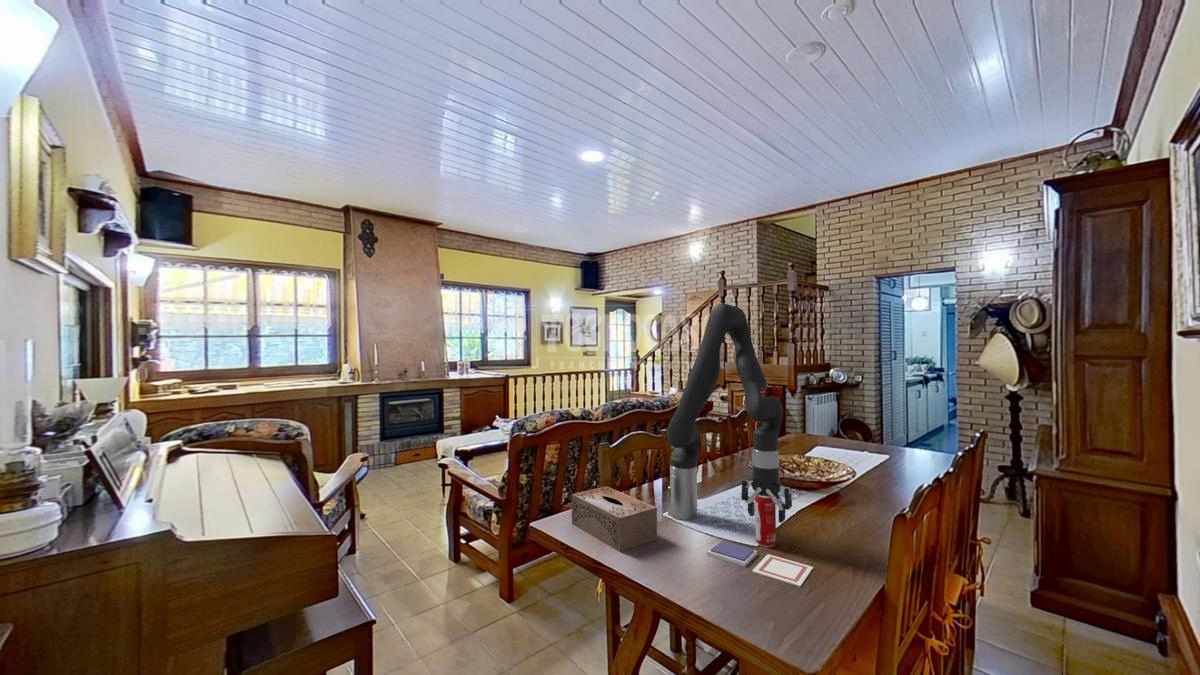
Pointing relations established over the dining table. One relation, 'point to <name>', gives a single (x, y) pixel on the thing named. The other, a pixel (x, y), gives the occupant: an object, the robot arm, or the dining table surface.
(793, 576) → the marked card
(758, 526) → the beverage can
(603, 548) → the dining table surface
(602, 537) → the tissue box cover
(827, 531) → the dining table surface
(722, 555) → the ink pad
